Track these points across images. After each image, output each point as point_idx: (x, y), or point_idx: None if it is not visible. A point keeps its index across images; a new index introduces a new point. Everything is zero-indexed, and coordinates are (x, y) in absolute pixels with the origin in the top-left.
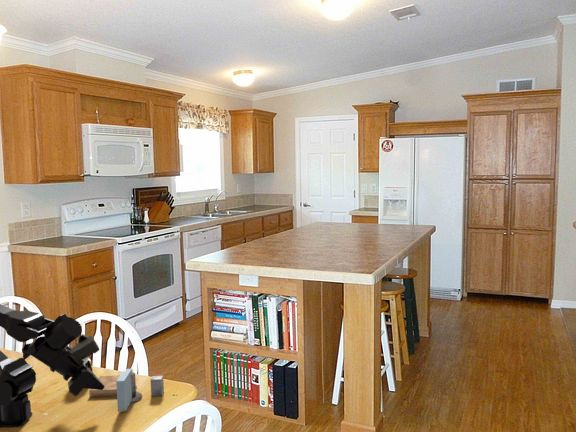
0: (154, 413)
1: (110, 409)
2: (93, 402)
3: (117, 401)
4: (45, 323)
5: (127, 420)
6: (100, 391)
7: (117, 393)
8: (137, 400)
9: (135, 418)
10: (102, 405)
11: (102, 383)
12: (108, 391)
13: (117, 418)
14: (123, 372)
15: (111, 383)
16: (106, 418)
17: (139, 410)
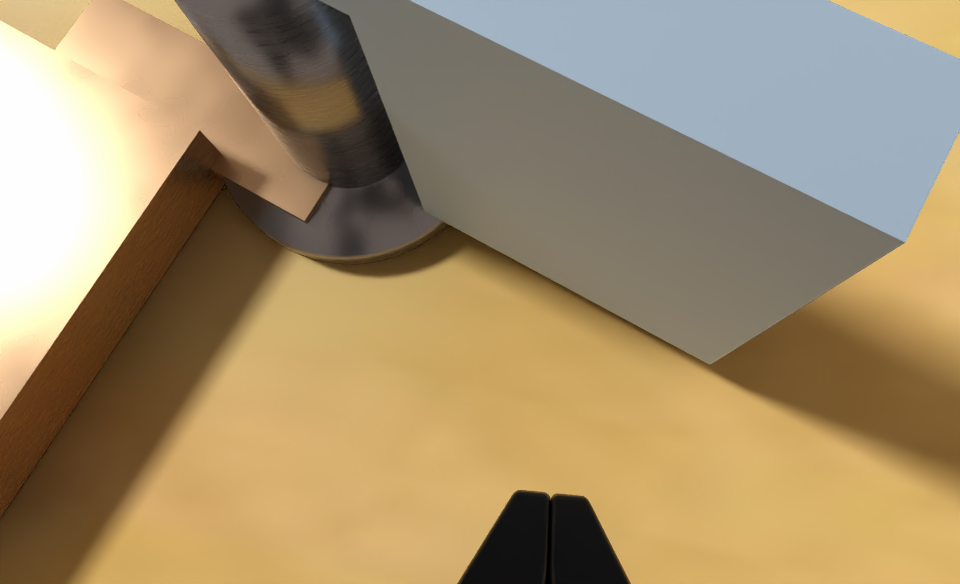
0: (907, 11)
1: (502, 418)
2: (154, 563)
3: (746, 339)
4: None
5: (929, 313)
6: (5, 433)
7: (793, 305)
8: None
9: (924, 220)
10: (322, 479)
11: (506, 528)
12: (77, 334)
13: (809, 404)
14: None
15: None
16: (732, 525)
17: None
